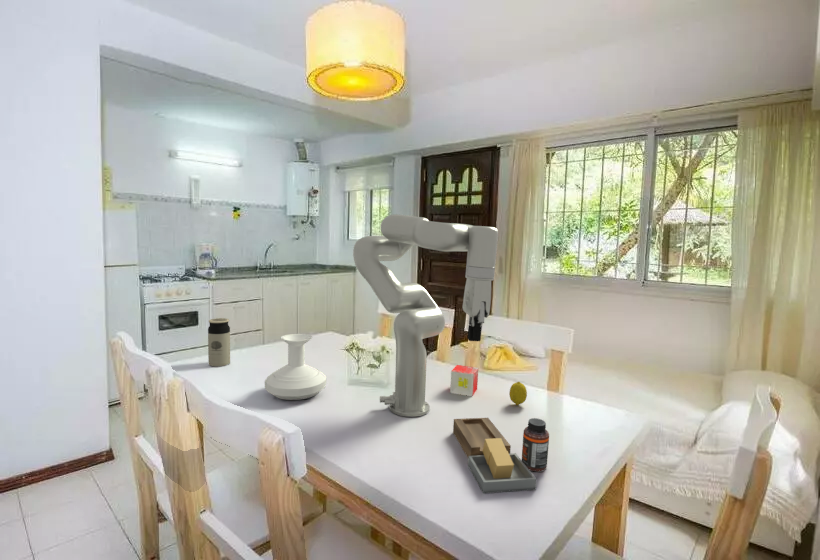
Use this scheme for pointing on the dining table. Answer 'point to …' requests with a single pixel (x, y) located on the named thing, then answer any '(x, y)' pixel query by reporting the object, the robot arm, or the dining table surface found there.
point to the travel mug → (218, 342)
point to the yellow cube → (492, 447)
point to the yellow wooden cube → (500, 464)
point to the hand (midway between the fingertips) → (473, 340)
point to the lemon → (518, 393)
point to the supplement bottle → (535, 445)
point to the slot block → (476, 434)
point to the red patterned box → (464, 380)
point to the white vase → (295, 373)
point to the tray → (488, 484)
